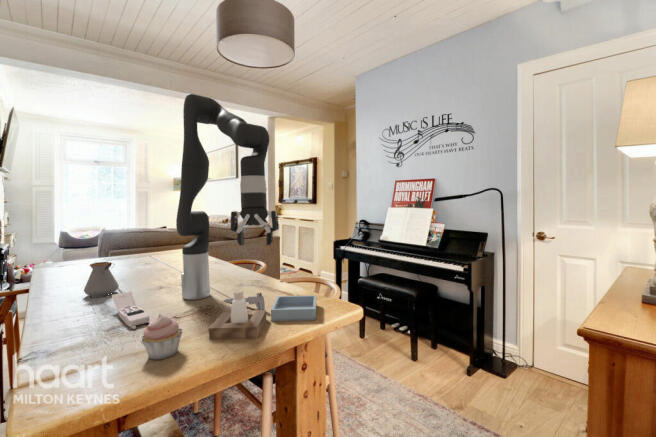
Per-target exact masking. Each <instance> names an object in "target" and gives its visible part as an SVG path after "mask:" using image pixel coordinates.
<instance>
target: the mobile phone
mask: <svg viewBox="0 0 656 437" xmlns="http://www.w3.org/2000/svg"><path fill="white" fill-rule="evenodd" d="M111 298H112V300H113V303H114V305H115V308H116V310H117V315H118V317H119V316H120V317H119V318H120V319H121V321H123V323H124V324H125V325H127V327H130V328H131V329H133V330H136V329H137V327H136V326H140V325H143V324H147V323H149V322H150V315H149V314H148V313H147V311H146V310H145V309H143V308H141V307H140V306H138V305H137V304H136V301H135V299H134V296H133V292H132V291H131V290H130V291H124V292H120V293H117V294H116V293H114V294H111Z"/></svg>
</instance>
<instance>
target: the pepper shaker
mask: <svg viewBox="0 0 656 437" xmlns="http://www.w3.org/2000/svg"><path fill="white" fill-rule="evenodd" d="M233 298H234V300H233V301H232V303H231V310H230V311H231V323H248V322H249V321H248V314H247V311H248V308H247V302H246V300H245V299H243V298H244V291H243V290H241V289H240V290H239V289H238V290H235V291H233Z"/></svg>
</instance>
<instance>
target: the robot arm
mask: <svg viewBox="0 0 656 437" xmlns="http://www.w3.org/2000/svg"><path fill="white" fill-rule="evenodd" d="M182 110H183V113H182V114H183V143H182V145H183V146H182V148H183V149H182V158H181V171H180V173H181V174H180V191H179V192H180V194H179V200H178V206H177V212H176V222H175V226H176V231H177V233H178V235H179V236H180V237H190V236H195V237H194V238H193V240H191V241H190V242H189V243H186V244H185V245H183V246H182V266H183V267H182V269H183V270H182V272H183V273H181V275H180V276H181V279H180V280H181V297H182V298H181V299H185V300H192V301H193V300H201V299H205V298H208V297H210V296H211V286H210V281H211V280H210V263H209V261H210V260H209V246H210V219H209V215H208V214H207V212H206V211H204V210H194V211H192V209H193V208H192V207H193V204H194V202H195V200H196V197H197V196H198V194H199V193H200V192H201V191H202V189H203V188H204V187H205V185H206V184H207V181H208V179H209V173H210V171H209V170H210V159H209V157H208V154H207V152H206V150H205V149H204V147H203V144H202V143H201V140H200V137H199V133H198V123H199V124H204V125H215V126H216V127H217V128H218V130H219V131H220V132H221V133H222V134H224V135H225V136H227V137H229V138H230V139H231V141H232V142H233V144H234V145H236V146H238V147H240V148H245V149H252V152H251V155H246V156H243V157H242V158H241V159H240V211H238V210H236V211H235V210H233V211H231V213H230V231H232V232H235V233H236V235H237V239H236V240H237V244H239V246H244V245H245V232H244V231H245V229H247V227H248V226H261V227H262V228H263V229H264V230H265V231H266V233H265V235H266V236H265V237H266V239H265V240H266V246H271V245H272V243H274V241H273V240H274V238H273V236H274V235H273V233H274V232H276V231H278V230H279V229H280V227H279V218H278V216H279V214H278V210H270V211H269V210H268V208H267V204H268V203H267V190H268V189H267V184H266V183H267V182H266V177H265V176H266V175H265V174H266V172H265V170H266V169H265V162H266V157H267V153H268V148H269V144H270V134H269V131H268V129H267V128H266V127H264V126H262V125H258V124H254V123H253V124H252V123H248V122H247V121H246V120H245V119H243V118H242V117H240V116H238V115H236V114H235V113H232V112H230V111H228V110H227V109H226V108H225V107H223V106H222V105H221V104H220V103H219V102H217V101H216V100H215V99H213V98H211V97H209V96H204V95H201V94H196V93H188V94H186V96H185V98H184V102H183V109H182ZM268 216H269V218H270V219H271V225H270V223H269V222H268V220H267V217H268ZM240 217H241V218H242V221H241V222H240V224H239V219H240Z"/></svg>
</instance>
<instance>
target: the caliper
mask: <svg viewBox="0 0 656 437" xmlns="http://www.w3.org/2000/svg"><path fill="white" fill-rule="evenodd" d="M243 299H245V300H246V303H248V305H254V304H255V306H256V309H257V310H266V309H265V308H266V307H265V304H266V303H265V298H264V295H263V294H262V292H257V293H256V295H250V296H247V297H243ZM233 300H234V297H227V298H226V299H224V300H223V301H224V302H225V303H231V304H232V301H233Z"/></svg>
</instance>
